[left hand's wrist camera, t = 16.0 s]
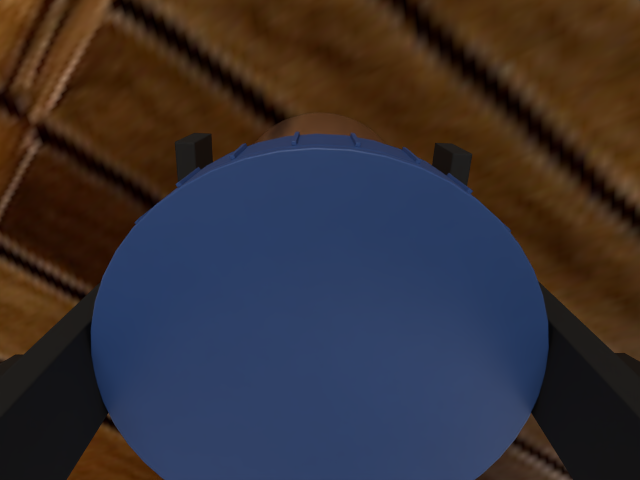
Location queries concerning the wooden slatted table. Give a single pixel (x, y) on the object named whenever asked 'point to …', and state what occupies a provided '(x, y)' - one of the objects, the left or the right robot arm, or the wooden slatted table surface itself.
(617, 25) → the wooden slatted table surface
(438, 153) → the right robot arm
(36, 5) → the wooden slatted table surface
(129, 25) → the wooden slatted table surface
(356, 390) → the lid
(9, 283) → the wooden slatted table surface
